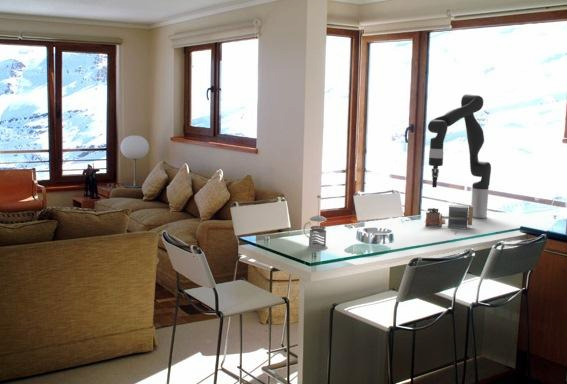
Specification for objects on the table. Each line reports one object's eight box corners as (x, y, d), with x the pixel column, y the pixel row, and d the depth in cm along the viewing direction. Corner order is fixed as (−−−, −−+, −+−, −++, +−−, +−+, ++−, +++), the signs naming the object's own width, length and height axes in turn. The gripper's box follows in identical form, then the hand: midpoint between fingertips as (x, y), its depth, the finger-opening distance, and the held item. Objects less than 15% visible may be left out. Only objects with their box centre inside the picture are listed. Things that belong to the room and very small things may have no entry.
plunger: (439, 224, 372) (440, 203, 370) (471, 226, 368) (472, 205, 366) (439, 226, 366) (440, 205, 364) (471, 228, 362) (473, 207, 360)
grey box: (448, 225, 371) (449, 204, 369) (466, 226, 369) (467, 205, 367) (448, 227, 365) (449, 206, 363) (467, 228, 362) (468, 207, 361)
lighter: (438, 225, 371) (439, 207, 369) (440, 226, 368) (441, 208, 366) (424, 225, 370) (425, 207, 368) (426, 226, 366) (427, 208, 365)
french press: (329, 250, 308) (331, 196, 304) (304, 250, 307) (305, 196, 303) (326, 245, 317) (327, 193, 314) (302, 245, 316) (303, 193, 313)
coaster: (425, 219, 386) (425, 217, 386) (445, 220, 384) (445, 218, 384) (425, 223, 376) (425, 220, 376) (445, 224, 373) (445, 221, 373)
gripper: (443, 158, 356) (441, 188, 359) (443, 155, 370) (441, 184, 372) (428, 157, 358) (427, 187, 360) (429, 155, 372) (427, 184, 374)
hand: (434, 186), depth 366 cm, fingers open, 8 cm apart
